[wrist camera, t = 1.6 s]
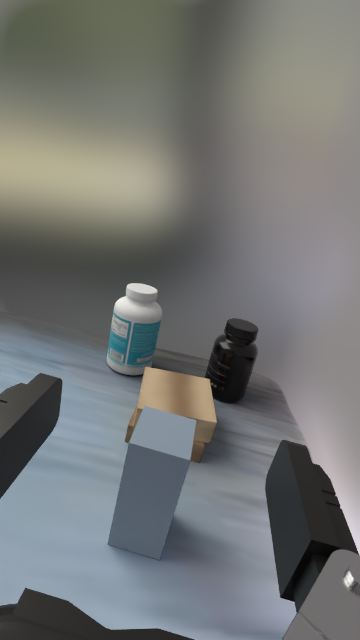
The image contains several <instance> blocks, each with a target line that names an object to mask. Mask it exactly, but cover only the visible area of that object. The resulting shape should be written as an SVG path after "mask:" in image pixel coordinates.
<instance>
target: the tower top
mask: <svg viewBox="0 0 360 640" xmlns="http://www.w3.org/2000/svg"><path fill="white" fill-rule="evenodd" d="M144 406H147V407H151V408H155V409H158V410H162V411H165V412H169V413H172V414H176V415H179V416H183V417H187V418H190V419H194V420H196V426H195V433H194V439H193V440H195V441H200V442H206V443H210V442H211V439H212V436H213V433H214V430H215V427H216V424H217V421H216V415H215V409H214V403H213V396H212V390H211V384H210V379H207V378H202V377H196V376H191V375H186V374H181V373H176V372H171V371H166V370H161V369H155V368H150V367H145V370H144V375H143V380H142V384H141V389H140V395H139V400H138V405H137V411H136V416H135V421H134V426H133V430H135V427H136V425H137V422H138V420H139V418H140V415H141V413H142V410H143V408H144Z"/></svg>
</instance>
